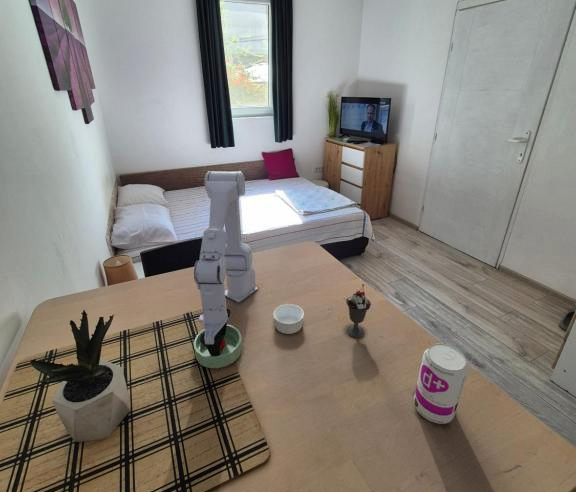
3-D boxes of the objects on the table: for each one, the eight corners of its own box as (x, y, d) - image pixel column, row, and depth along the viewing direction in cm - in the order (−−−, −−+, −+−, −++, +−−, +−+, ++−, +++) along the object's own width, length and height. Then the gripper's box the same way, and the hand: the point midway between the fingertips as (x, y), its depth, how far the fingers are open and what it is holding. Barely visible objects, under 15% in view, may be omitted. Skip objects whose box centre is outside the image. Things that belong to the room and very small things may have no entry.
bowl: (220, 329, 93) (218, 318, 92) (251, 347, 87) (250, 335, 85) (185, 355, 84) (184, 343, 83) (218, 377, 78) (216, 365, 76)
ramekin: (268, 330, 93) (268, 318, 91) (280, 312, 100) (280, 300, 99) (297, 339, 90) (297, 327, 88) (307, 319, 97) (308, 307, 95)
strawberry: (218, 343, 88) (217, 330, 87) (228, 349, 86) (228, 335, 85) (208, 351, 85) (206, 337, 84) (218, 357, 83) (217, 343, 82)
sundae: (365, 324, 95) (370, 281, 89) (368, 340, 89) (374, 295, 83) (342, 322, 96) (346, 279, 90) (344, 339, 90) (348, 294, 84)
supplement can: (435, 433, 66) (450, 379, 60) (405, 400, 72) (415, 349, 66) (462, 415, 69) (478, 363, 63) (430, 386, 76) (442, 336, 70)
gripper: (204, 285, 86) (209, 326, 92) (188, 322, 73) (195, 367, 78) (231, 285, 86) (234, 326, 91) (220, 322, 73) (224, 367, 78)
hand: (218, 345), depth 85 cm, fingers open, 7 cm apart
